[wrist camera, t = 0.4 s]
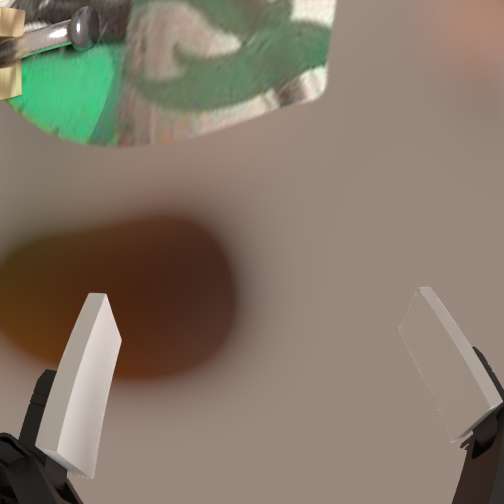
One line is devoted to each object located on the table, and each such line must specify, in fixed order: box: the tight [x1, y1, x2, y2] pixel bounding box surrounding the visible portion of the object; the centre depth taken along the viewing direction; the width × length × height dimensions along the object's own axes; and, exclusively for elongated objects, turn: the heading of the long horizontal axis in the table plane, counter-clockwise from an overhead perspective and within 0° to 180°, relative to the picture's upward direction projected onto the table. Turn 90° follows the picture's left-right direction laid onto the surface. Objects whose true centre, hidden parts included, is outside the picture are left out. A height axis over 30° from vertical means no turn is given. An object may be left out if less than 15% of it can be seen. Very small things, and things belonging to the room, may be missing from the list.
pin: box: [0, 6, 99, 66], centre depth 20 cm, size 5×13×5 cm, turn 86°
